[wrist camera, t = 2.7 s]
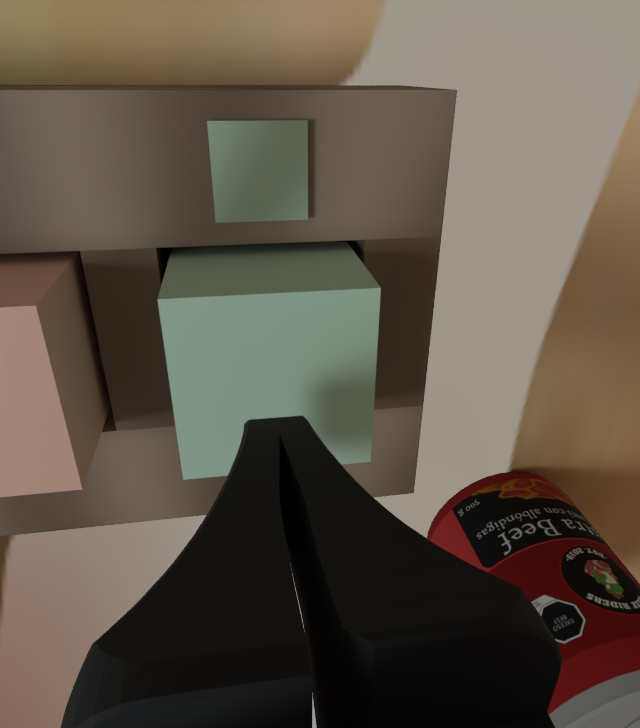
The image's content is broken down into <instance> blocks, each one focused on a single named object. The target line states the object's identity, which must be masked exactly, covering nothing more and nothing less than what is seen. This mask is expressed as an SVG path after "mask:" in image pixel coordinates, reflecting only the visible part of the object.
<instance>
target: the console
mask: <svg viewBox="0 0 640 728" xmlns="http://www.w3.org/2000/svg"><path fill="white" fill-rule="evenodd" d="M456 94H457V90H448V89H436V88H423V87H411V86H267V85H0V255H5V254H31V253H56V252H79V256H80V260H81V265H82V270H83V275H84V280H85V285H86V290H87V295H88V299H89V304H90V309H91V314H92V319H93V324H94V329H95V334H96V339H97V343H98V348H99V353H100V358H101V363H102V368H103V373H104V378H105V383H106V387H107V392H108V397H109V402H110V409H109V412H108V415H107V418H106V421H105V424H104V426H103V429H102V432H101V435H100V438H99V441H98V444H97V447H96V450H95V453H94V456H93V459H92V462H91V465H90V468H89V471H88V474H87V477H86V480H85V483H84V486H83V489H82V490H72V491H61V492H51V493H41V494H30V495H20V496H9V497H0V536H8V535H17V534H27V533H37V532H46V531H56V530H65V529H75V528H84V527H93V526H103V525H113V524H122V523H132V522H142V521H151V520H161V519H170V518H180V517H189V516H199V515H207V514H208V513H209V511H210V509H211V507H212V506H213V504H214V502H215V500H216V498H217V496H218V494H219V492H220V491H221V489H222V487H223V485H224V483H225V481H226V479H227V477H228V476H218V477H208V478H197V479H187V480H183V475H182V468H181V461H180V454H179V447H178V440H177V433H176V426H175V419H174V412H173V405H172V398H171V391H170V384H169V377H168V370H167V363H166V356H165V349H164V342H163V335H162V328H161V321H160V314H159V307H158V300H157V299H158V296H159V292H160V289H161V285H162V282H163V278H164V274H165V271H166V267H167V264H168V260H169V257H170V253H171V250H172V248H185V247H211V246H237V245H262V244H288V243H314V242H340V241H347V242H348V244H349V245H350V246H351V248H352V249H353V251H354V252H355V253H356V255H357V256H358V257H359V259H360V260H361V261H362V263H363V264H364V265H365V267H366V268H367V270H368V271H369V272H370V274H371V275H372V276H373V278H374V279H375V280H376V282H377V283H378V285H379V286H380V287H381V295H380V312H379V329H378V346H377V363H376V380H375V397H374V414H373V432H372V449H371V462H364V463H354V464H343V465H342V466H343V467H344V468H345V470H346V471H347V472H348V473H349V474H350V475H351V476H352V477H353V478H354V479H355V480H356V481H357V482H358V483H359V484H360V485H361V486H362V487H363V488H364V489H365V490H366V491H367V492H368V493H369V494H370V495H371V496H372V497H380V496H389V495H398V494H408V493H414V485H415V476H416V466H417V457H418V447H419V439H420V438H419V437H420V429H421V420H422V410H423V401H424V391H425V383H426V373H427V364H428V354H429V345H430V335H431V327H432V317H433V308H434V298H435V289H436V280H437V271H438V262H439V261H438V260H439V252H440V243H441V233H442V224H443V215H444V205H445V196H446V186H447V177H448V169H449V159H450V149H451V141H452V140H451V139H452V131H453V122H454V113H455V103H456Z"/></svg>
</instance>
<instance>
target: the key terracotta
mask: <svg viewBox="0 0 640 728" xmlns="http://www.w3.org/2000/svg"><path fill="white" fill-rule="evenodd" d="M109 409H110V402H109V397H108V392H107V387H106V383H105V378H104V373H103V368H102V363H101V358H100V353H99V348H98V343H97V339H96V334H95V329H94V324H93V319H92V314H91V309H90V304H89V299H88V295H87V290H86V285H85V280H84V275H83V270H82V265H81V260H80V256H79V252H56V253H31V254H5V255H0V497H9V496H20V495H30V494H41V493H51V492H61V491H72V490H82V489H83V486H84V483H85V480H86V477H87V474H88V471H89V468H90V465H91V462H92V459H93V456H94V453H95V450H96V447H97V444H98V441H99V438H100V435H101V432H102V429H103V426H104V424H105V421H106V418H107V415H108V412H109Z"/></svg>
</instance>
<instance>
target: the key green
mask: <svg viewBox="0 0 640 728" xmlns="http://www.w3.org/2000/svg"><path fill="white" fill-rule="evenodd" d="M380 295H381V287H380V286H379V285H378V283H377V282H376V280H375V279H374V278H373V276H372V275H371V274H370V272H369V271H368V270H367V268H366V267H365V265H364V264H363V263H362V261H361V260H360V259H359V257H358V256H357V255H356V253H355V252H354V251H353V249H352V248H351V246H350V245H349V244H348V242H347V241H340V242H314V243H288V244H262V245H237V246H211V247H185V248H172V250H171V253H170V257H169V260H168V264H167V267H166V271H165V274H164V278H163V282H162V285H161V289H160V292H159V296H158V299H157V300H158V307H159V314H160V321H161V328H162V335H163V342H164V349H165V356H166V363H167V370H168V377H169V384H170V391H171V398H172V405H173V412H174V419H175V426H176V433H177V440H178V447H179V454H180V461H181V468H182V475H183V480H187V479H197V478H208V477H218V476H228V474H229V472H230V470H231V467H232V465H233V462H234V460H235V458H236V455H237V452H238V449H239V446H240V443H241V440H242V436H243V431H244V424H245V423H246V422H247V421H248V420H251V419H264V418H277V417H290V416H304V417H305V418H306V419H307V420H308V421H309V423H310V425H311V426H312V428H313V429H314V431H315V432H316V434H317V435H318V436H319V438H320V439H321V440H322V442H323V443H324V444H325V446H326V447H327V448H328V450H329V451H330V452H331V453H332V454H333V456H334V457H335V458H336V459H337V460H338V461H339V463H340V464H341V465H343V464H354V463H364V462H371V449H372V432H373V414H374V397H375V380H376V363H377V346H378V329H379V312H380Z"/></svg>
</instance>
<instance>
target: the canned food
mask: <svg viewBox="0 0 640 728" xmlns="http://www.w3.org/2000/svg"><path fill="white" fill-rule="evenodd" d="M427 539H428V540H430V541H431V542H433V543H434V544H436V545H438V546H439V547H441V548H443V549H444V550H446V551H448V552H449V553H451V554H453V555H455V556H457V557H458V558H460V559H462V560H464V561H466V562H467V563H469V564H471V565H473V566H475V567H477V568H479V569H481V570H484V571H486V572H488V573H490V574H492V575H494V576H497V577H499V578H501V579H503V580H505V581H507V582H509V583H512V584H514V585H516V586H518V587H520V588H521V589H522V591H523V592H524V594H525V595H526V596H527V598H528V599H529V600H530V602H531V603H532V604H533V606H534V607H535V608H536V609H537V611H538V612H539V614H540V615H541V617H542V618H543V620H544V621H545V623H546V625H547V626H548V628H549V630H550V631H551V633H552V635H553V637H554V638H555V640H556V642H557V643H558V645H559V648H560V651H561V655H562V658H563V660H562V666H561V673H560V676H559V679H558V682H557V685H556V687H555V690H554V693H553V696H552V699H551V702H550V705H549V708H548V711H547V712H548V714H549V716H550V718H551V720H552V722H553V724H554V726H555V728H640V584H639V583H638V581H637V580H636V579H635V578H634V577H633V575H632V574H631V573H630V572H629V571H628V569H627V568H626V567H625V566H624V564H623V563H622V562H621V561H620V560H619V558H618V557H617V556H616V555H615V553H614V552H613V551H612V550H611V549H610V547H609V546H608V545H607V544H606V543H605V541H604V540H603V539H602V538H601V536H600V535H599V534H598V533H597V532H596V530H595V529H594V528H593V527H592V525H591V524H590V523H589V522H588V521H587V519H586V518H585V517H584V516H583V515H582V513H581V512H580V511H579V510H578V508H577V507H576V506H575V505H574V504H573V502H572V501H571V500H570V499H569V498H568V496H567V495H566V494H565V493H564V492H563V491H562V490H561V489H560V488H558V487H557V486H555V485H553V484H552V483H550V482H549V481H547V480H545V479H543V478H541V477H540V476H538V475H534V474H530V473H525V472H508V473H500V474H496V475H493V476H489V477H486V478H483V479H481V480H479V481H476V482H474V483H472V484H470V485H469V486H467V487H465V488H464V489H462V490H461V491H459V492H458V493H457V494H456V495H454V496H453V497H452V498H451V499H449V501H447V503H446V504H445V505H444V506H443V507H442V508H441V509H440V510H439V512H438V513H437V515H436V516H435V518H434V520H433V521H432V524H431V527H430V529H429V531H428V536H427Z"/></svg>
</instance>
